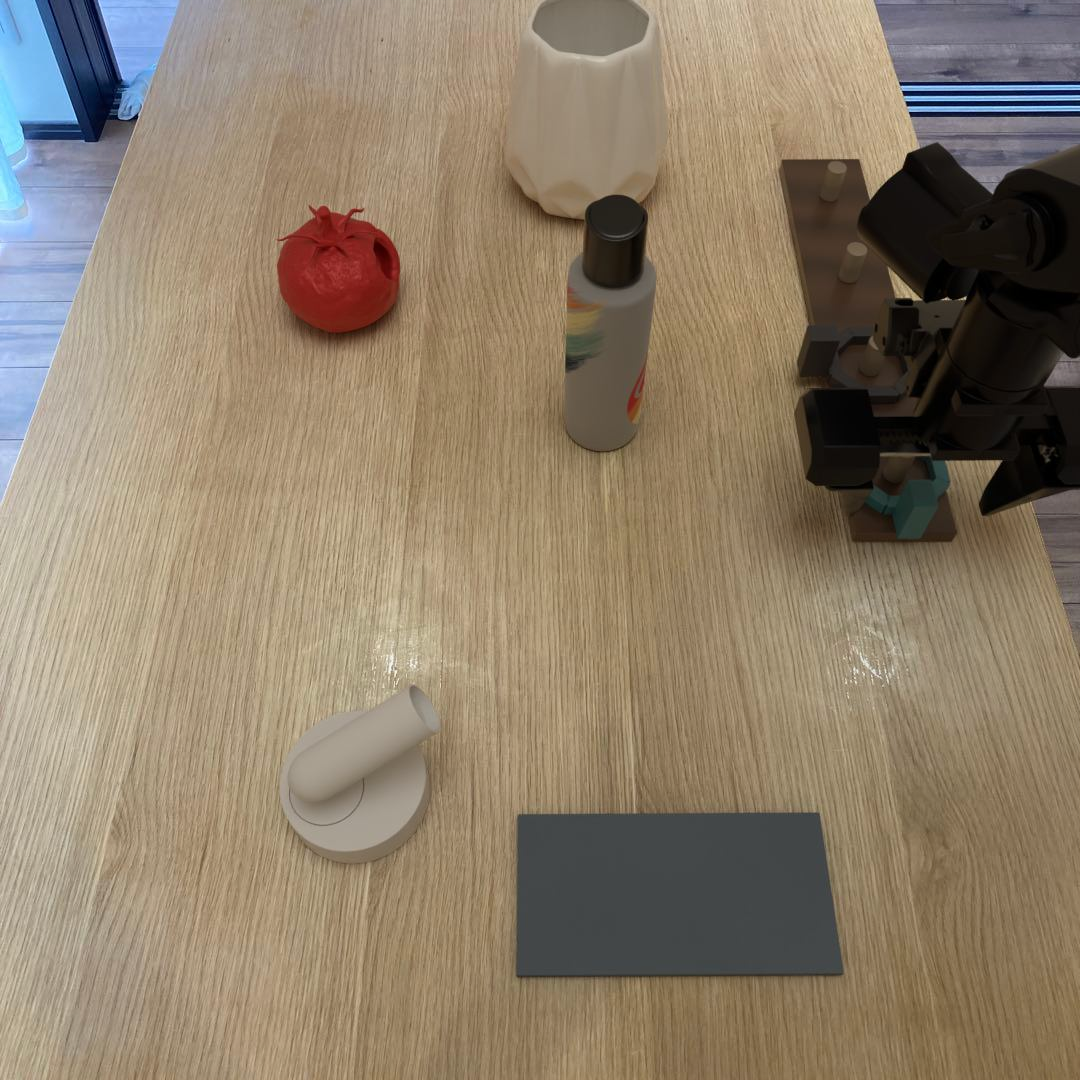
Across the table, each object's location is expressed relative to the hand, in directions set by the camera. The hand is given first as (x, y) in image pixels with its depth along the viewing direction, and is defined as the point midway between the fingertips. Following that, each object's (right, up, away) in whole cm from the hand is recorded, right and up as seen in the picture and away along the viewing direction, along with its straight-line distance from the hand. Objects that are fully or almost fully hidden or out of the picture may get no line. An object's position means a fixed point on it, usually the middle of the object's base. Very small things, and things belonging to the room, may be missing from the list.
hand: (914, 511), depth 70 cm
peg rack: (0, +15, +13) cm, 20 cm away
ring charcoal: (0, +11, +9) cm, 15 cm away
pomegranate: (-41, +17, +15) cm, 47 cm away
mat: (-18, -22, -10) cm, 30 cm away
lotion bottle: (-21, +7, +8) cm, 23 cm away
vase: (-21, +30, +23) cm, 44 cm away
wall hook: (-36, -17, -7) cm, 40 cm away
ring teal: (0, +3, +4) cm, 5 cm away
